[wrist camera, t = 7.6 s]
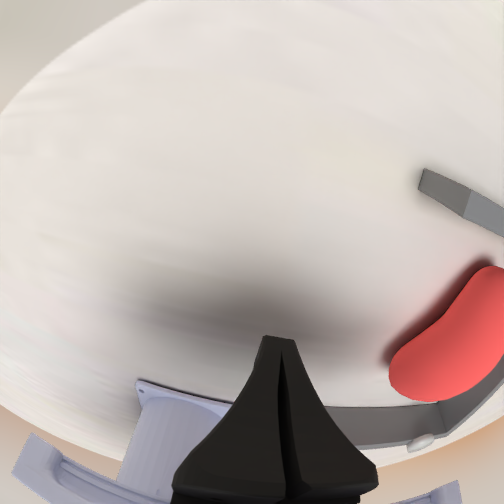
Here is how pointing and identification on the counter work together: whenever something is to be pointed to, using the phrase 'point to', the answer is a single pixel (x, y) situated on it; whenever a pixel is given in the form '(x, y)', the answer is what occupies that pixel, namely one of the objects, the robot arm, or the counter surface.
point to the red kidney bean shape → (455, 343)
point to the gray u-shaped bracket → (445, 411)
